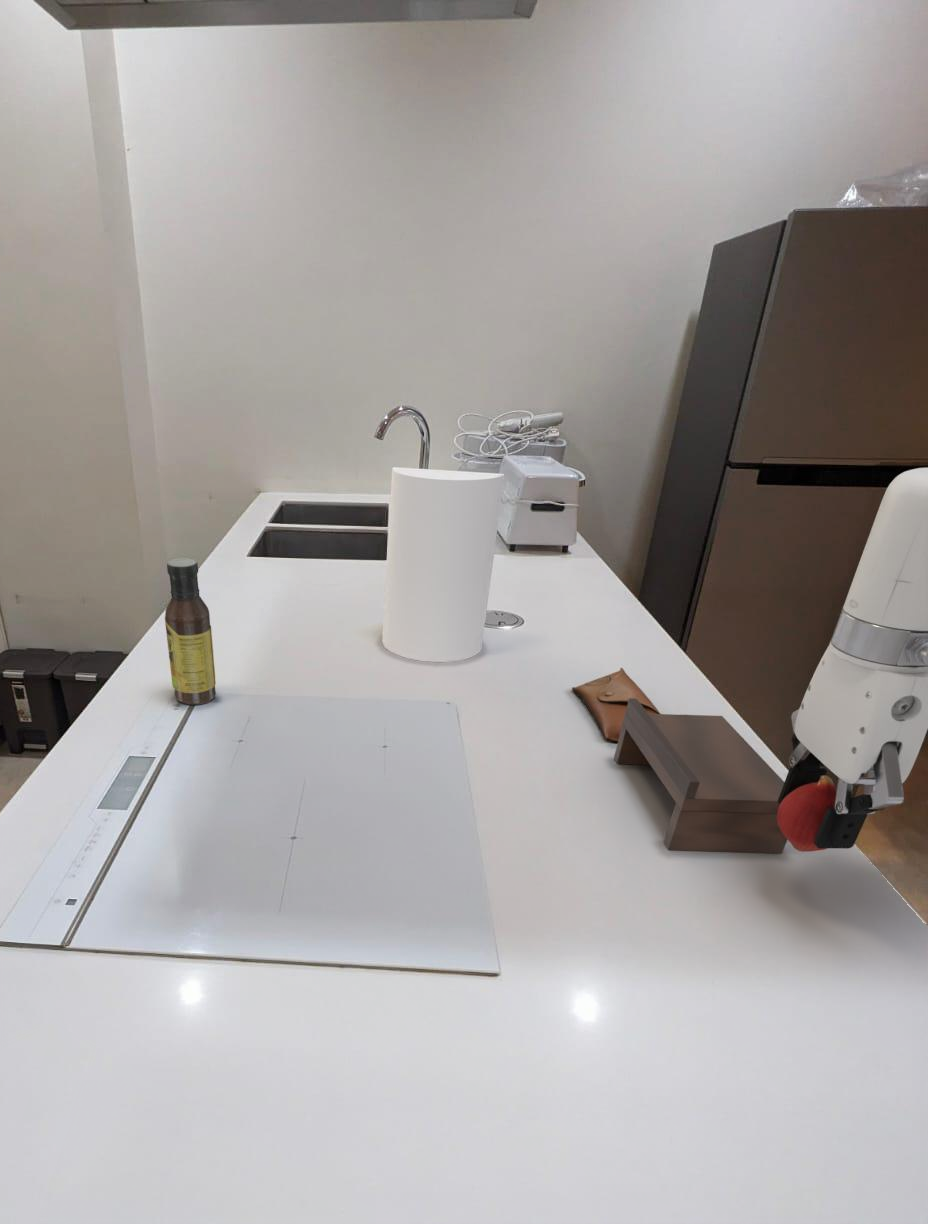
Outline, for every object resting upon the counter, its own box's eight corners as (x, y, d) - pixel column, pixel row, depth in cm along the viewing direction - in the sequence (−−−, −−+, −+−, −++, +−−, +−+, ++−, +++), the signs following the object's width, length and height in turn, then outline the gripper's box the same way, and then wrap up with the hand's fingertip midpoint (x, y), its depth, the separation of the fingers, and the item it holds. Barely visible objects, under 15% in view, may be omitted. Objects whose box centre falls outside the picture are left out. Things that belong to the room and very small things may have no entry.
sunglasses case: (567, 685, 115) (597, 650, 112) (601, 707, 117) (631, 673, 114) (606, 740, 99) (642, 701, 96) (644, 764, 102) (680, 727, 99)
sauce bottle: (182, 687, 113) (169, 552, 103) (221, 690, 112) (213, 555, 102) (167, 704, 108) (151, 565, 97) (208, 708, 107) (198, 568, 96)
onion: (836, 843, 72) (868, 771, 67) (836, 875, 67) (869, 801, 63) (768, 826, 74) (795, 755, 70) (764, 856, 70) (791, 783, 66)
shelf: (707, 761, 96) (727, 700, 92) (781, 853, 79) (810, 785, 75) (613, 758, 97) (628, 698, 92) (668, 850, 80) (690, 781, 75)
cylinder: (475, 667, 122) (499, 483, 107) (372, 655, 126) (381, 475, 111) (486, 632, 136) (508, 465, 121) (393, 622, 140) (403, 459, 125)
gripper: (1018, 682, 52) (912, 884, 62) (873, 604, 67) (806, 777, 76) (908, 682, 52) (820, 883, 62) (788, 604, 67) (731, 777, 77)
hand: (813, 823), depth 69 cm, fingers closed on onion, 5 cm apart
